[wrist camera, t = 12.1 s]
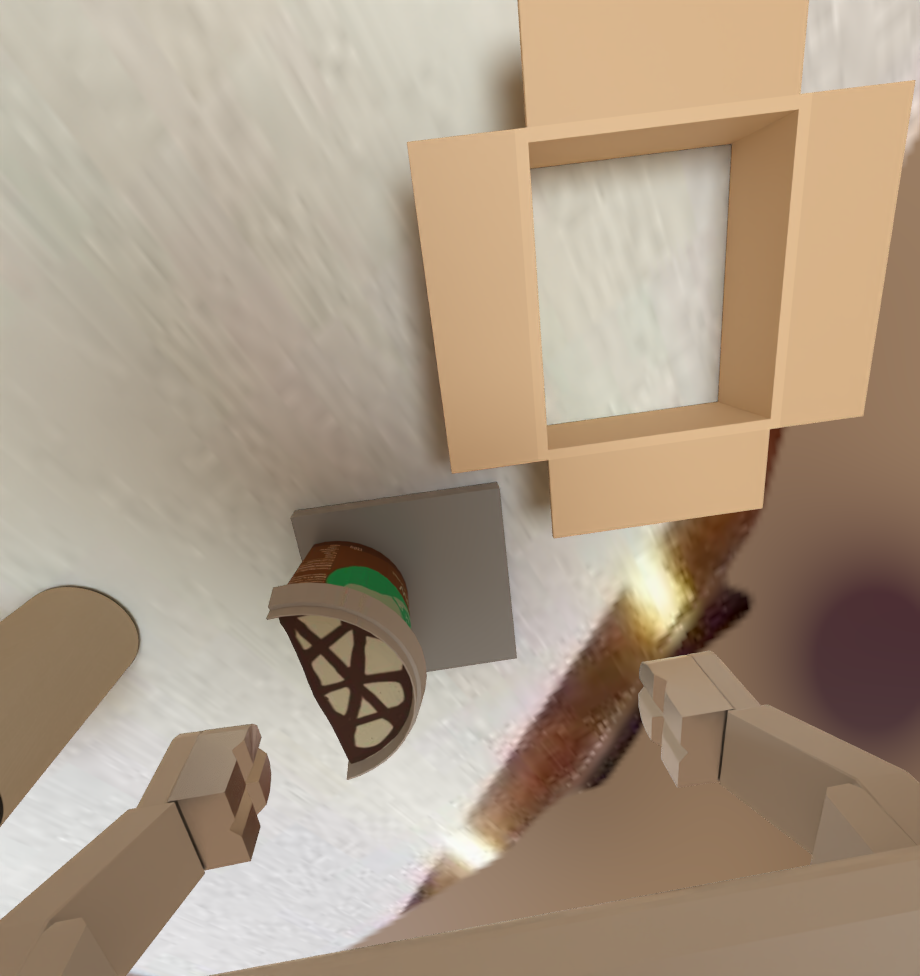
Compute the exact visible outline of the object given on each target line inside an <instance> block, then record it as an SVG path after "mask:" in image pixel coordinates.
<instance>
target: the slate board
mask: <svg viewBox="0 0 920 976" xmlns="http://www.w3.org/2000/svg"><path fill="white" fill-rule="evenodd" d="M291 521H292V525H293V529H294V532H295V536H296V540H297V544H298V548H299V552H300V555H301V559H302V561H303V560H304V558H305V557H306V555H307V554H308V552H309V551H310V549H311V548H312V546H313V545H314V544H318V543H322V542H328V541H349V542H354V543H359V544H362V545H365V546H368V547H371V548H373V549H375V550H377V551H379V552H380V553H382V554H383V555H385V556H386V557H387V558H389V559H390V560H391V561H392V562H393V563H394V564H395V565H396V567H397V568H398V570H399V571H400V572H401V574H402V576H403V578H404V580H405V583H406V587H407V590H408V601H409V611H410V622H411V630H412V631H413V633H414V634H415V636H416V638H417V640H418V642H419V644H420V646H421V648H422V651H423V655H424V658H425V662H426V672H429V671H436V670H442V669H449V668H455V667H462V666H468V665H475V664H482V663H488V662H495V661H501V660H508V659H515V658H517V655H516V645H515V635H514V626H513V616H512V606H511V596H510V586H509V577H508V567H507V557H506V547H505V538H504V528H503V518H502V508H501V498H500V489H499V486H498V484H497V482H494V483H487V484H480V485H473V486H466V487H459V488H452V489H445V490H437V491H430V492H423V493H416V494H409V495H402V496H395V497H388V498H381V499H374V500H367V501H360V502H353V503H346V504H339V505H332V506H325V507H317V508H310V509H303V510H296V511H294V513H293V515H292V516H291Z"/></svg>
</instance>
